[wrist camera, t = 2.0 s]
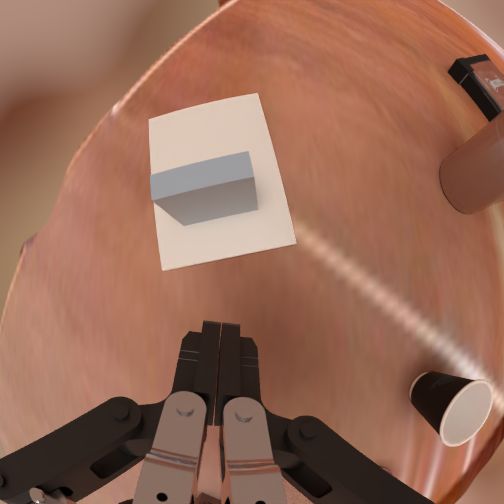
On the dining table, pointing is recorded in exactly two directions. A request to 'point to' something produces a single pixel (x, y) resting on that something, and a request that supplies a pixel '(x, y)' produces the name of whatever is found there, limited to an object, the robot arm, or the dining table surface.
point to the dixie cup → (452, 404)
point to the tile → (206, 189)
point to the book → (481, 83)
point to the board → (213, 146)
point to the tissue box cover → (207, 499)
